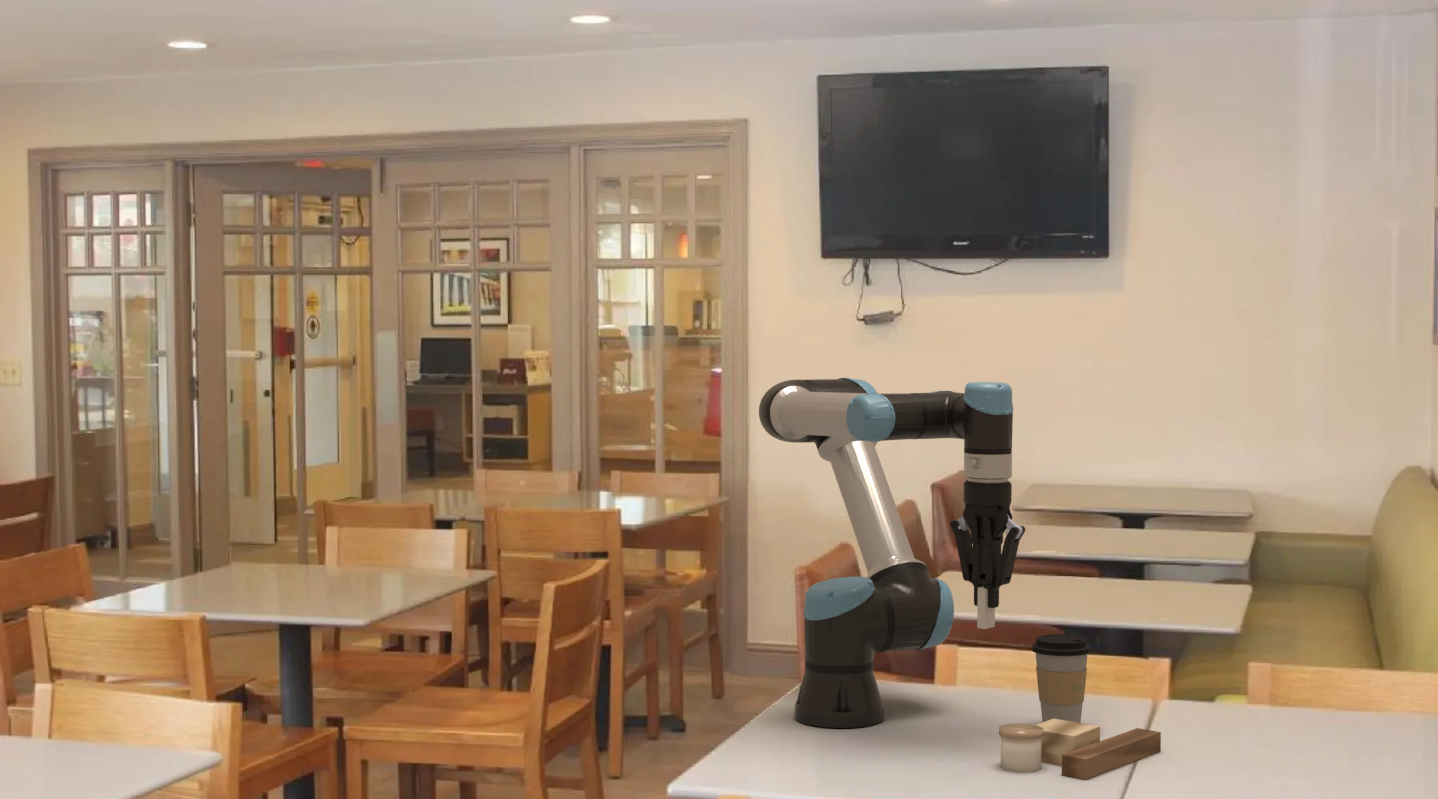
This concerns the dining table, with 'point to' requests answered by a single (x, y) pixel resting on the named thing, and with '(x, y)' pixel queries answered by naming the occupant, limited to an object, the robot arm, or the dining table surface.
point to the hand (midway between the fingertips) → (986, 627)
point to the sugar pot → (1021, 747)
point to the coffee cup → (1061, 675)
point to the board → (1110, 753)
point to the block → (1065, 738)
